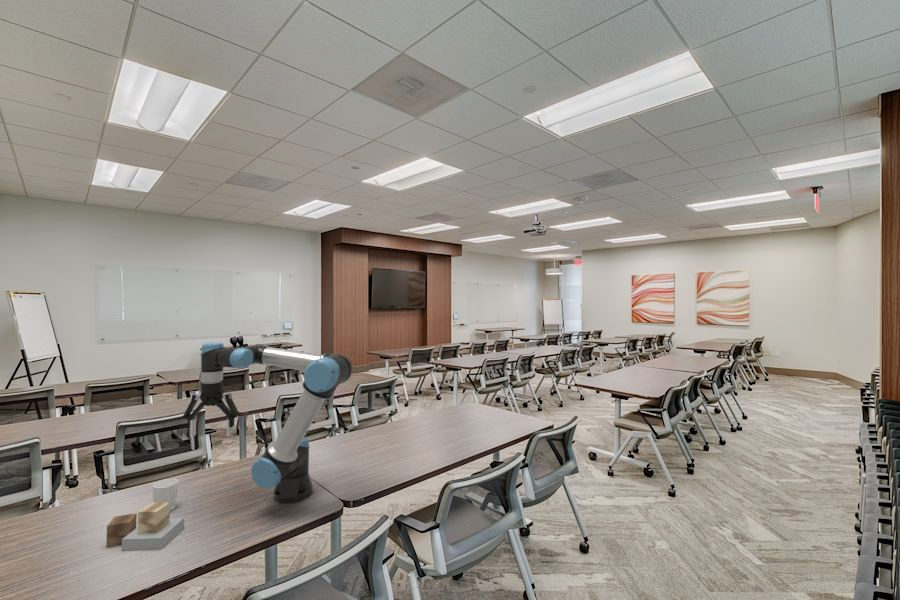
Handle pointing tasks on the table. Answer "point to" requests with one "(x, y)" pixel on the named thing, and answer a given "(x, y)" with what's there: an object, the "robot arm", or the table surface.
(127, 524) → the walnut block
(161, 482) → the white cup
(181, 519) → the grey block
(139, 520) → the maple block
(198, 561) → the table surface
